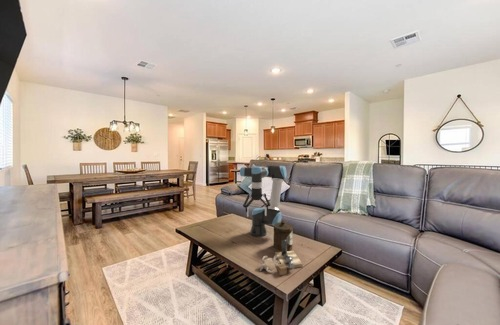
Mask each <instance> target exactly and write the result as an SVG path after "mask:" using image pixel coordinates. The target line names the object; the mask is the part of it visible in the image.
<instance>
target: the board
mask: <svg viewBox="0 0 500 325" xmlns="http://www.w3.org/2000/svg"><path fill="white" fill-rule="evenodd" d="M274 253H275V254H274V256H275V255H277V258H276V260H277V261H279V262H280V264H284V265H285V266H286V267H287V269H290V268H289V266H288V265H286V260H285V258H284V256H283V255H282V252H280V251H275V252H274ZM287 255H288V256H291V257H292V258H293V264H294V268H293V269H295V268H303V265H304V264H303V262H302V261H301V260H300V258H299V257H298V255H297V254H296V252H295V251H294V250H291V251H287Z"/></svg>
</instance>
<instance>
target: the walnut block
mask: <svg viewBox="0 0 500 325" xmlns="http://www.w3.org/2000/svg"><path fill="white" fill-rule="evenodd" d="M287 269H288V268H287V267H286V266H285V265H284V264H279V265H277V270H276V273H278V275H280V276H284V275H287V274H288V273H287V272H288V271H287Z"/></svg>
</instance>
